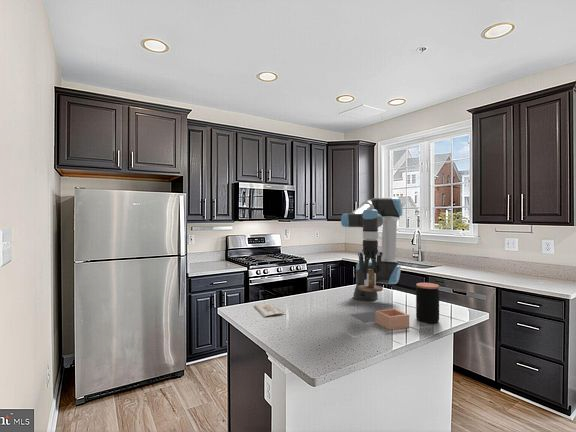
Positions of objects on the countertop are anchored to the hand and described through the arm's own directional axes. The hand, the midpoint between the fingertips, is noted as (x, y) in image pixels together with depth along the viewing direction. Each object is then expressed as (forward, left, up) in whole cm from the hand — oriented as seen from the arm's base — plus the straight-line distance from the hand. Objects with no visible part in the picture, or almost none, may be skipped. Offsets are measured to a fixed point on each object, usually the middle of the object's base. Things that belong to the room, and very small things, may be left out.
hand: (370, 285), depth 171 cm
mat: (0, -1, -17) cm, 17 cm away
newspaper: (+45, -31, -18) cm, 57 cm away
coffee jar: (-25, +13, -17) cm, 33 cm away
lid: (0, 0, -2) cm, 2 cm away
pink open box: (-4, +13, -17) cm, 21 cm away
